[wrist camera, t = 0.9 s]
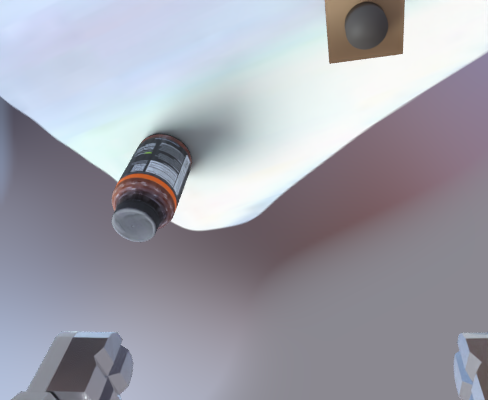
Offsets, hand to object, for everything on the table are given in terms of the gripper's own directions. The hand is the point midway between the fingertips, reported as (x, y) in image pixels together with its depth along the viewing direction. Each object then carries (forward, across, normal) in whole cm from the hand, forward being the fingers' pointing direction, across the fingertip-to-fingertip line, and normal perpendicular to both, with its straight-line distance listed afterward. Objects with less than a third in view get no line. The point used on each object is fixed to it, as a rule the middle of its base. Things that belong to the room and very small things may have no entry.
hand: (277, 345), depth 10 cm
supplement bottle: (+32, +16, +14) cm, 38 cm away
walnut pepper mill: (+32, -4, -1) cm, 32 cm away
